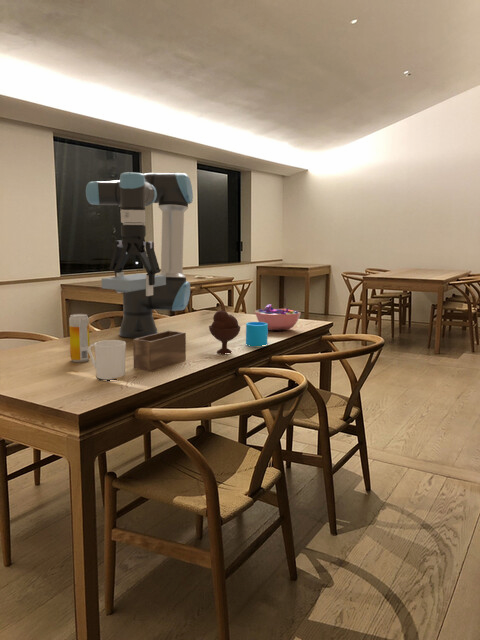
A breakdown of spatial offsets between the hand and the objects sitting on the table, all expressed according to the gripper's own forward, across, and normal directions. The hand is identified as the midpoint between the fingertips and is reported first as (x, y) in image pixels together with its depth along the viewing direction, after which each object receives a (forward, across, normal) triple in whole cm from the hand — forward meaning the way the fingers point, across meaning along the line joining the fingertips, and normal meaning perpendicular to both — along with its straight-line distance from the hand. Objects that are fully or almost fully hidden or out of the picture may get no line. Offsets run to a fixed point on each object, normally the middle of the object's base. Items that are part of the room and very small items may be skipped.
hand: (135, 294), depth 171 cm
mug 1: (+22, +5, -19) cm, 30 cm away
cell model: (+24, +16, +76) cm, 81 cm away
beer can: (+22, -17, -8) cm, 29 cm away
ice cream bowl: (+23, +18, +26) cm, 39 cm away
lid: (-2, 0, 0) cm, 2 cm away
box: (+22, +11, -1) cm, 25 cm away
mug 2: (+23, +21, +46) cm, 56 cm away
